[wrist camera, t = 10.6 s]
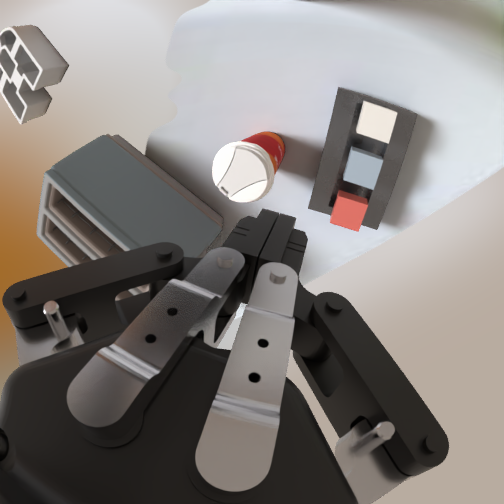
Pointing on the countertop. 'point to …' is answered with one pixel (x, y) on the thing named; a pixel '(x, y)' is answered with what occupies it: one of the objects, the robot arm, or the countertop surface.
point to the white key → (376, 122)
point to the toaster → (119, 207)
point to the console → (346, 137)
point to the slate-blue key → (362, 168)
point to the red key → (348, 210)
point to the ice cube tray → (28, 70)
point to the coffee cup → (248, 166)
